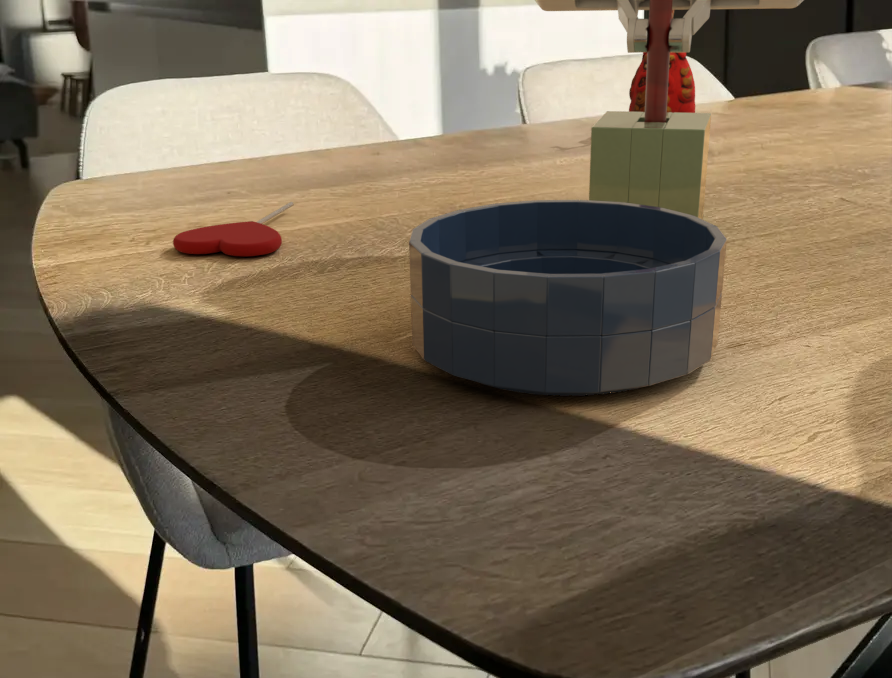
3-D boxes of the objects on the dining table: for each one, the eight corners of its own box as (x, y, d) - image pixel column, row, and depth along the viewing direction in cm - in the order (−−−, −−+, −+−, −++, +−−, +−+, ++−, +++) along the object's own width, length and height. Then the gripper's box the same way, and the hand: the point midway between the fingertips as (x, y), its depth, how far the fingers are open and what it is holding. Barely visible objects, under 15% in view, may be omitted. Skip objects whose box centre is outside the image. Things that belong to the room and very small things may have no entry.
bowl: (580, 290, 71) (584, 187, 68) (779, 361, 59) (793, 240, 56) (359, 341, 63) (353, 227, 60) (536, 436, 51) (538, 298, 48)
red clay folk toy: (618, 132, 126) (625, -11, 120) (640, 123, 132) (648, -14, 126) (683, 136, 123) (693, -11, 117) (703, 127, 128) (714, -14, 122)
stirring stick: (652, 187, 86) (663, -39, 79) (667, 191, 85) (679, -39, 78) (636, 190, 85) (646, -38, 78) (651, 194, 84) (662, -38, 77)
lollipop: (247, 207, 94) (162, 253, 81) (246, 196, 94) (161, 240, 80) (338, 211, 92) (266, 258, 79) (337, 200, 92) (265, 246, 78)
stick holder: (602, 212, 90) (606, 111, 87) (703, 217, 88) (711, 113, 85) (587, 236, 83) (591, 127, 80) (696, 241, 81) (704, 129, 78)
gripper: (537, -131, 84) (509, 17, 80) (821, -143, 79) (809, 14, 74) (547, -66, 90) (522, 75, 85) (813, -74, 85) (801, 76, 80)
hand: (658, 47), depth 80 cm, fingers closed on stirring stick, 1 cm apart
